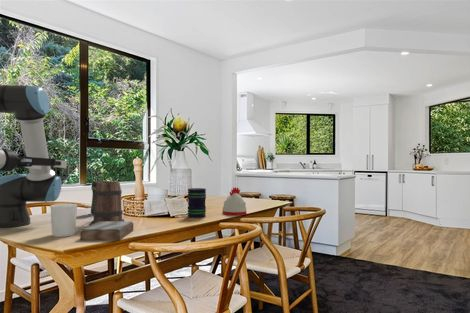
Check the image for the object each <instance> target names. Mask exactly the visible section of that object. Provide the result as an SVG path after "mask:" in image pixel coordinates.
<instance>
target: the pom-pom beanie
mask: <svg viewBox="0 0 470 313" xmlns="http://www.w3.org/2000/svg"><path fill="white" fill-rule="evenodd" d="M240 192H241V189H239V187H236V186H235V187H232V189H231V190H230V191H229V195H228V196H227V198H225V200H224V202H223V207H222V214H223V215H227V216H243V215H247V205H246V201H245V200H244V199H243V196H241V194H240Z"/></svg>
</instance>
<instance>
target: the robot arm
mask: <svg viewBox="0 0 470 313" xmlns="http://www.w3.org/2000/svg"><path fill="white" fill-rule="evenodd" d="M50 106H51V104H50V99H49V95H48V93H47V92H46V90H45V89H44V88H43V87H41V86H38V85H37V86H36V85H30V84H29V85H24V84H23V85H19V84H16V85H15V84H13V85H11V84H10V85H9V84H1V85H0V113H1V114H14V115H13V116H14V120H16V121H17V122H18V123H19V125H20V129H21V134H22V140H23V144H24V145H23V146H24V149H25V150H24V151H25V155H26V156H24V155H17V153H16V152H15V151H14V150H12V149H4V148H3V149H2V148H0V172H12V171H13V170H14V169H19V168H20V169H23V168H25V169H28V171H29V172H28V174H27V173H18V174H9V175H3V176H0V228H15V227H23V226H27V225H28V226H29V225H30V224H31V217H30V213H29V210H28V208H27V203H31V202H33V203H34V202H35V203H36V202H37V203H38V202H39V203H40V202H41V203H44V202H45V203H49V202H56V200H58V198H59V196H60V195H61V191H62V186H63V185H62V179H61V177H60V176H56V172H55V170H54V168H58V169H59V168H61V169H67V164H68V161H67V160H60V159H56V158H50V156H49V150H48V144H47V140H46V133H45V132H46V131H45V125H44V120H45V119H46V117H47V114H48V113H49V111H50V109H51V108H50Z"/></svg>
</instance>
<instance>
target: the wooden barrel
mask: <svg viewBox="0 0 470 313" xmlns="http://www.w3.org/2000/svg"><path fill="white" fill-rule="evenodd" d="M97 182H110V181H108V180H93V181H92V183H91V188H90V189H91V192H92V199H91V205H90V206H91V207H90V214H92V215H93V211H94V203H95V194H94V193H95V189H96V184H97Z"/></svg>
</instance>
